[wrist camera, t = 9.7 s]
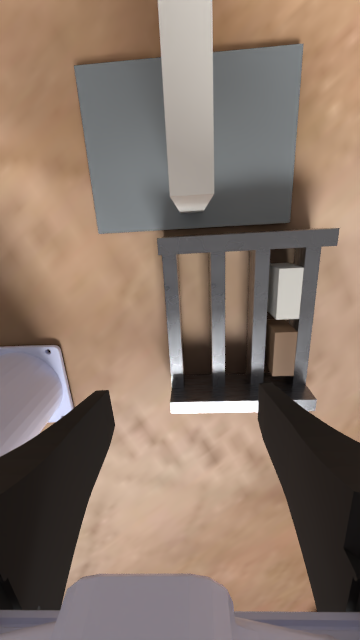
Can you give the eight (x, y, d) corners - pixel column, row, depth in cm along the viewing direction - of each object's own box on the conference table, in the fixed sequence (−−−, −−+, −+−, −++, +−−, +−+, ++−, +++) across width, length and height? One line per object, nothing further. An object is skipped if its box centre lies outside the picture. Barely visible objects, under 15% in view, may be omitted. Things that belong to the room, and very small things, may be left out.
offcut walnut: (262, 358, 23) (272, 376, 20) (264, 319, 22) (275, 332, 19) (280, 357, 23) (293, 375, 20) (283, 318, 22) (297, 331, 19)
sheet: (180, 213, 19) (169, 196, 9) (173, 75, 16) (149, -139, 7) (202, 212, 19) (214, 193, 9) (199, 73, 16) (210, -147, 7)
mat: (100, 233, 20) (98, 233, 20) (77, 70, 17) (73, 65, 16) (287, 222, 19) (289, 222, 19) (300, 49, 16) (303, 43, 16)
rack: (174, 384, 24) (170, 413, 20) (163, 237, 20) (157, 238, 16) (295, 381, 24) (315, 410, 20) (310, 228, 19) (339, 228, 16)
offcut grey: (264, 308, 22) (276, 319, 19) (267, 263, 20) (279, 268, 18) (284, 307, 21) (299, 318, 19) (288, 262, 20) (303, 267, 17)
